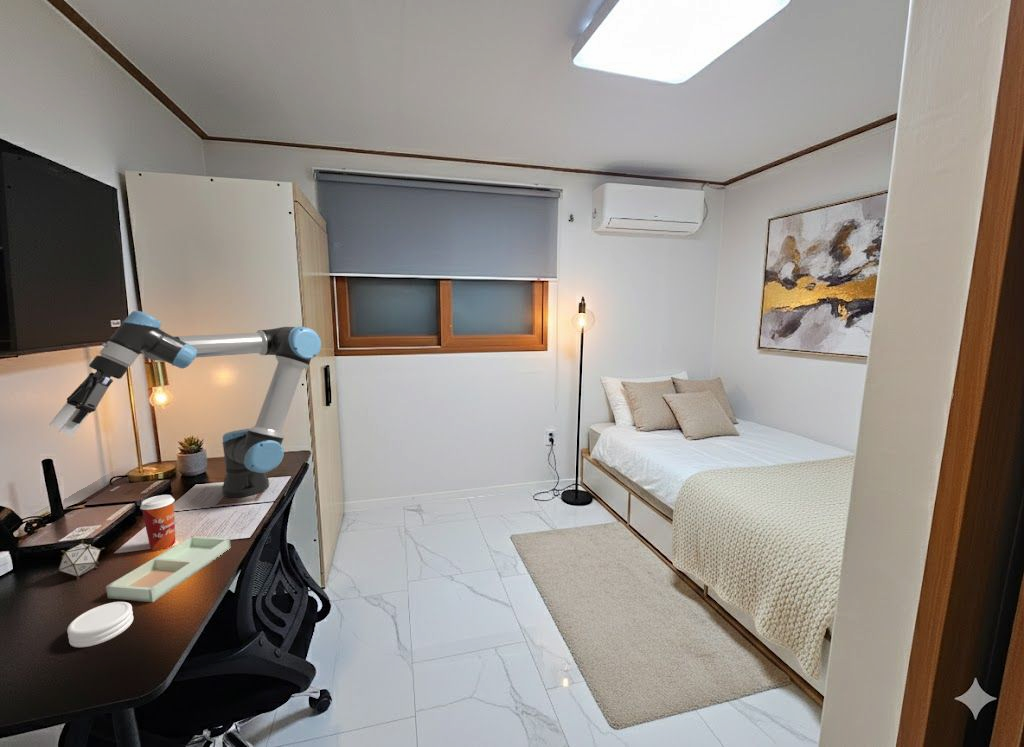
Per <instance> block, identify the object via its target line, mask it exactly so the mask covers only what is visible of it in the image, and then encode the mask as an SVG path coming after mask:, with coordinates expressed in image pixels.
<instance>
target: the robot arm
mask: <svg viewBox="0 0 1024 747" xmlns="http://www.w3.org/2000/svg"><path fill="white" fill-rule="evenodd" d="M161 325H162V321H160V320H159V319H157V318H156V317H154V316H152V315H150V314H149V313H146V312H143V311H140V310H132V312H131V313H130V314H129V315H127V317H125V319H124V320H123V321H122V323H121V324H120V325H119V326H118V328H117V329H116V330H115V332H114V333H113V334H112V336H110V338H109V340H108V341H107V342H106V343H105V342H104V343H102V344H101V346H102V347H103V348H102V349H101V350H100V351H99V354H100V355H99V354H98V355H96V356H95V357H94V358H93V360H92V361H91V362H90V363H89V364H88V366H89V367H90V368H91V369H93V370H96V371H95V373H94V372H93V371H92V372H90V373H89V374H88V376H87V377H86V378H85V379H84V380H83V381H82V382H81V384H79V386H78V387H77V388H75V389H74V391H73V392H72V393H71V394H70V395H69V396H68V397H67V399H66V403H65V404H64V405H63V406H62V407H61V409H60V410H59V412H57V414H55V416H54V418H53V419H52V421H51V422H50V423H49V426H52V427H54V428H55V427H56V428H58V429H59V431H58V433H60V434H63V435H66V436H70V437H73V436H74V435H75V433H76V432H77V431H78V430H79V428H80V427H81V425H82V424H83V423H84V422H85V420H86V419H87V418H88V416H89V415H90V414H91V413H93V412H95V411H96V409H97V407H98V406H99V404H100V402H101V401H102V399H103V397H104V395H105V394H106V392H107V390H108V388H109V387H110V385H111V384H112V383H113V381H114V379H118V380H120V379H122V378H123V377H124V375H125V374H126V372H127V371H128V370H129V369H128V367H131V366H132V365H133V363H135V361H136V360H137V359H138V357H139V356H140V354H142V355H143V356H144V357H145V358H147V359H149V360H151V361H159V362H165V363H168V364H170V365H171V366H173V367H176V368H179V369H185V368H188V367H189V366H190V365H191V364H192V363H193V361H194V360H195V359H196V358H207V357H208V358H209V357H221V356H233V355H234V356H236V355H249V354H258V355H259V356H275V359H276V360H277V365H276V366H275V369H274V373H273V376H272V379H271V382H270V383H269V384H270V385H269V387H268V389H267V391H266V394H265V397H264V400H263V403H262V405H261V408H260V411H259V414H258V417H257V420H256V423H255V425H254V426H252V427H250V428H243V429H238V430H232V431H229V432H226V433H224V434H223V435H222V448H223V456H224V457H223V458H224V465H225V466H224V467H225V472H226V473H225V476H224V480H223V485H222V495H223V497H226V498H242V497H249V496H252V495H253V496H254V495H257V494H259V493H261V492H263V491H265V490H267V489H268V488H269V487H270V480H269V478H268V477H267V475H266V473H268V472H270V471H272V470H275V469H276V468H277V467H278V466H279V465H280V463H282V461H283V458H284V454H285V452H284V448H283V446H282V444H283V441H284V439H285V437H284V434H283V433H282V430H283V427H284V424H285V421H286V418H287V415H288V412H289V410H290V406H291V404H292V401H293V398H294V395H295V393H296V390H297V387H298V384H299V381H300V378H301V375H302V373H303V371H304V370H305V369H307V368H308V367H310V363H311V360H312V359H314V358H316V356H318V355H319V353H320V351H321V349H322V348H321V347H322V341H321V338H320V336H319V334H318V333H317V332H316V331H315V330H314V329H312V328H309V327H304V326H282V327H276V328H269V329H259V330H257V331H256V332H250V333H249V332H247V333H245V332H244V333H224V334H221V333H220V334H219V333H218V334H199V335H177V336H173V335H170V333H167V332H165V331H164V330H162V329H161ZM112 378H114V379H112Z"/></svg>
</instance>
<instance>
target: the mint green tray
mask: <svg viewBox="0 0 1024 747" xmlns="http://www.w3.org/2000/svg"><path fill="white" fill-rule="evenodd" d="M230 548H231V549H232V546H231V539H230V538H227V537H226V538H225V537H212V536H211V537H209V536H195V535H194V536H193V535H191V536H190V537H188V538H187V539H185V540H183V541H181V542H180V543H178V544H176V545H173V546H171V547H170V548H168V550H165V551H164V552H162V553H161V554H159V555H157V556H156V557H154V558H151V560H149V561H146V563H143V564H141V565H140V566H138V567H137V568H134V569H133V570H132V571H130V572H128V573H126V574H124V575H123V576H121V577H119V578H118V579H116V580H114V581H112V582H111V583H109V584H107V585H106V586H105V590H106V596H107V599H112V600H113V599H116V600H124V601H125V600H126V601H134V602H135V601H137V602H146V603H154V602H156V601H157V600H159V598H161V597H162V596H164V595H166V594H167V593H168V592H171V591H172V590H173V589H174V588H176V587H177V586H178V585H180V584H181V583H183V582H185V581H186V580H188V578H191V577H192V576H193V575H194V574H196V573H197V572H199V571H200V570H202V569H203V568H205V567H206V566H208V565H209V564H211V563H213V562H214V561H215V560H217V559H218V558H219V557H221V556H222V555H224V554H225V553H226V551H227V550H228V551H230V550H231V549H230ZM229 549H230V550H229ZM228 551H227V552H228ZM224 552H225V553H224ZM223 553H224V554H223ZM220 555H221V556H220ZM217 557H218V558H217ZM216 558H217V559H216ZM213 560H214V561H213Z"/></svg>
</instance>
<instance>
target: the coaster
mask: <svg viewBox="0 0 1024 747" xmlns="http://www.w3.org/2000/svg"><path fill="white" fill-rule="evenodd" d="M133 614H134V612H133V606H132V604H131V603H129V602H126V601H113V602H109V603H104V604H101V605H99V606H95V607H93V608H91V609H89V610H87V611H85V612H83V613H81V614H80V615H78V616H77V617H76V618H75V619H74V620H72V621H71V622H70V624H68V627H67V628H66V629H67V630H66V631H67V638H68V643H69V644H70V646H72V647H74V648H88V647H92V646H96V645H99V644H102V643H105V642H107V641H110V640H112V639H113V638H116V637H117V636H119V635H120V634H122V633H124V632H125V631H126V630H127V629H128V628H129V627H130V626H131V624H132V623H133V622H134V615H133Z"/></svg>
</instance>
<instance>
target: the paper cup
mask: <svg viewBox="0 0 1024 747" xmlns="http://www.w3.org/2000/svg"><path fill="white" fill-rule="evenodd" d="M174 503H175V498H174V497H173V496H172V495H171V494H161V495H156V496H151V497H148V498H146V499H144V500H143V501H142V502H141V505H140V507H139V509H140V510H141V511H142V516H143V520H144V525H145V531H146V534H147V535H146V536H147V539H148V543H149V548H150V550H151V549H152V550H151V551H153V550H158V551H161V550H160V549H163V550H166V549H168V548H167V547H169V548H171V547H173V546H174V545H175V544H176V525H175V524H176V522H175V509H174V508H175V504H174ZM174 543H175V544H174ZM173 544H174V545H173ZM172 545H173V546H172ZM170 546H171V547H170ZM165 548H166V549H165Z"/></svg>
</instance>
